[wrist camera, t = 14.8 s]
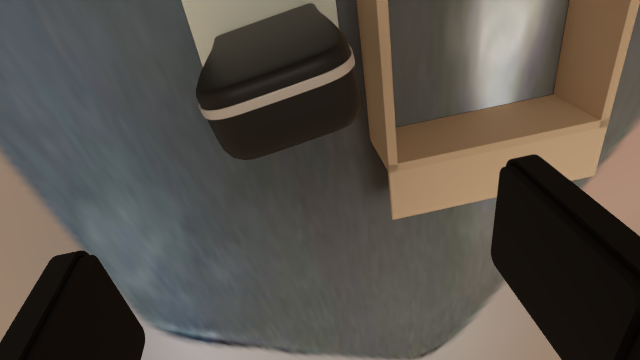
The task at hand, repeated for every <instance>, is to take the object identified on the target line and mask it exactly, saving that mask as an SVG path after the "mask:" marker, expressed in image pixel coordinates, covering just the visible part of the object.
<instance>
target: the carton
mask: <svg viewBox="0 0 640 360" xmlns="http://www.w3.org/2000/svg"><path fill="white" fill-rule="evenodd" d="M356 2H357V12H358V22H359V32H360V42H361V52H362V62H363V72H364V82H365V92H366V102H367V112H368V122H369V132H370V140H371V142H372V144H373V146H374V147H375V149H376V151H377V153H378V154H379V156H380V158H381V160H382V162H383V163H384V165H385V167H386V169H387V170H388V179H389V192H390V205H391V218H392V220H395V219H399V218H404V217H408V216H413V215H417V214H422V213H427V212H431V211H436V210H440V209H445V208H449V207H454V206H458V205H463V204H468V203H472V202H477V201H481V200H486V199H490V198H495V197H497V192H498V183H499V173H500V170H501V168H503V167H506V163H507V162H508V160H510V159H513V158H518V157H523V156H528V155H532V154H536V155H538V156H540V157H541V158H543V159H544V160H545V161H546V162H548V163H549V164H550V165H551V166H553V167H554V168H555V169H556V170H558V171H559V172H560V173H561V174H563V175H564V176H565V177H566V178H568V179H569V180H570V181H572V180H577V179H581V178H586V177H590V176H595V172H596V168H597V164H598V160H599V157H600V153H601V149H602V145H603V141H604V137H605V134H606V130H607V126H608V122H609V118H610V115H611V111H612V107H613V103H614V99H615V95H616V92H617V88H618V84H619V80H620V76H621V72H622V69H623V65H624V61H625V57H626V53H627V50H628V46H629V42H630V38H631V34H632V30H633V27H634V23H635V19H636V15H637V11H638V7H639V4H640V0H569V6H568V12H567V18H566V24H565V29H564V35H563V41H562V47H561V53H560V59H559V64H558V70H557V76H556V82H555V88H554V94H553V95H548V96H543V97H538V98H534V99H529V100H524V101H519V102H515V103H510V104H505V105H500V106H496V107H491V108H486V109H481V110H477V111H472V112H467V113H462V114H458V115H453V116H448V117H444V118H439V119H434V120H429V121H425V122H420V123H415V124H410V125H406V126H401V127H396V128H395V112H394V96H393V79H392V62H391V45H390V28H389V12H388V0H356Z"/></svg>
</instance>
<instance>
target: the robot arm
mask: <svg viewBox="0 0 640 360" xmlns="http://www.w3.org/2000/svg"><path fill="white" fill-rule="evenodd" d="M491 257H492V260H493V263H494V265H495V267H496V268H497V269H498V271H499V272H500V274H501V275H502V276H503V278H504V279H505V281H506V282H507V283H508V285H509V286H510V288H511V289H512V291H513V292H514V293H515V295H516V296H517V297H518V299H519V300H520V302H521V303H522V305H523V306H524V307H525V309H526V310H527V312H528V313H529V314H530V315H531V317H532V319H533V320H534V321H535V323H536V324H537V326H538V327H539V328H540V330H541V331H542V333H543V334H544V335H545V337H546V338H547V340H548V341H549V343H550V344H551V345H552V347H553V348H554V349H555V351H556V352H557V354H558V355H559V356H560V358H561V359H562V360H640V236H639V235H637V234H636V233H635V232H634V231H632V230H631V229H630V228H629V227H627V226H626V225H625V224H624V223H622V222H621V221H620V220H619V219H617V218H616V217H615V216H614V215H612V214H611V213H610V212H609V211H607V210H606V209H605V208H604V207H602V206H601V205H600V204H599V203H597V202H596V201H595V200H594V199H593V198H591V197H590V196H589V195H588V194H586V193H585V192H584V191H583V190H581V189H580V188H579V187H578V186H576V185H575V184H574V183H573V182H571V181H570V180H569V179H568V178H566V177H565V176H564V175H563V174H561V173H560V172H559V171H558V170H556V169H555V168H554V167H553V166H551V165H550V164H549V163H548V162H546V161H545V160H544V159H543V158H541V157H540V156H538V155H536V154H532V155H528V156H523V157H518V158H513V159H510V160H508V162H507V163H506V167H503V168H501V170H500V173H499V183H498V192H497V201H496V210H495V219H494V228H493V237H492V246H491ZM144 344H145V333H144V330H143V328H142V326H141V325H140V323H139V321H138V320H137V318H136V317H135V315H134V314H133V312H132V311H131V309H130V307H129V306H128V304H127V303H126V301H125V300H124V298H123V297H122V295H121V294H120V292H119V290H118V289H117V287H116V286H115V284H114V283H113V281H112V280H111V278H110V276H109V275H108V273H107V272H106V270H105V269H104V267H103V266H102V264H101V262H100V261H99V259H98V258H97V257H96V256H94V255H89V254H88V253H87V252H85V251H76V252H71V253H67V254H62V255H57V256H55V257H53V258H52V259H51V260H50V261H49V263H48V265H47V266H46V268H45V269H44V271H43V273H42V275H41V276H40V278H39V280H38V281H37V283H36V284H35V286H34V288H33V289H32V291H31V293H30V294H29V296H28V297H27V299H26V301H25V303H24V304H23V306H22V307H21V309H20V311H19V312H18V314H17V316H16V317H15V319H14V321H13V322H12V324H11V326H10V327H9V329H8V330H7V332H6V334H5V336H4V337H3V339H2V341H1V342H0V360H141V356H142V352H143V349H144Z"/></svg>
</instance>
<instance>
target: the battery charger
mask: <svg viewBox="0 0 640 360" xmlns="http://www.w3.org/2000/svg"><path fill="white" fill-rule="evenodd" d="M354 65H355V59H354V55H353V51H352V49H351V47H350V46H349V44H348V42H347V39H346V38H345V36H344V35H343V33H342V32H341V31H340V30H339V28H338V27H337V26H336V25H335V24H334V23H333V22H332V21H330V20H329V19H328V18H327V17H326V16H324V15H323V14H322V13H320V12H319V10H318V9H317V8H316V6H315V5H314V4H313V3H308V4H305V5H302V6H299V7H297V8H294V9H291V10H288V11H285V12H282V13H280V14H277V15H274V16H271V17H268V18H265V19H263V20H260V21H257V22H254V23H252V24H249V25H246V26H243V27H240V28H238V29H235V30H232V31H230V32H227V33H224V34H221V35H219V36H217V37H216V38H215V39H214V44H213V47H212V50H211V52H210V54H209V56H208V58H207V60H206V62H205V64H204V66H203V69H202V71H201V74H200V77H199V80H198V84H197V88H196V97H197V100H198V102H199V109H200V111H201V113H202V115H203V116H204V117H205V118H206V119H207V120H208V122H209V124H210V126H211V128H212V130H213V132H214V133H215V135H216V137H217V139H218V141H219V143H220V145H221V146H222V148H223V149H224V150H225V151H226V152H227V153H228V154H230V155H231V156H232V157H233V158H237V159H242V160H250V159H255V158H258V157H262V156H265V155H268V154H271V153H274V152H277V151H280V150H283V149H286V148H289V147H292V146H295V145H298V144H301V143H303V142H306V141H309V140H312V139H315V138H318V137H320V136H323V135H326V134H329V133H332V132H334V131H337V130H339V129H342V128H344V127H346V126H348V125H350V124H351V123H352V122H353V121H354V120H355V119H356V118H357V116H358V115H359V112H360V110H361V105H362V99H361V92H360V87H359V83H358V79H357V76H356V72H355V68H354Z"/></svg>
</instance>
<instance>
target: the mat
mask: <svg viewBox="0 0 640 360" xmlns="http://www.w3.org/2000/svg"><path fill="white" fill-rule="evenodd" d="M181 1H182V4H183V7H184V10H185V13H186V17H187V20H188V23H189V26H190V29H191V32H192V35H193V38H194V41H195V44H196V48H197V51H198V54H199V57H200V60H201V63H202V66H204V64H205V62H206V60H207V58H208V56H209V54H210V52H211V50H212V47H213V44H214V39H215V38H216V37H217V36H219V35H221V34H224V33H227V32H230V31H232V30H235V29H238V28H240V27H243V26H246V25H249V24H252V23H254V22H257V21H260V20H263V19H265V18H268V17H271V16H274V15H277V14H280V13H282V12H285V11H288V10H291V9H294V8H297V7H299V6H302V5H305V4H308V3H313V4H314V5H315V6H316V8H317V9H318V10H319V12H320V13H322V14H323V15H324V16H326V17H327V18H328V19H329V20H330V21H332V22H333V23H334V24H335V25H336V26H337V27H338V28H339V25H338V17H337V9H336V1H335V0H181Z"/></svg>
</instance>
